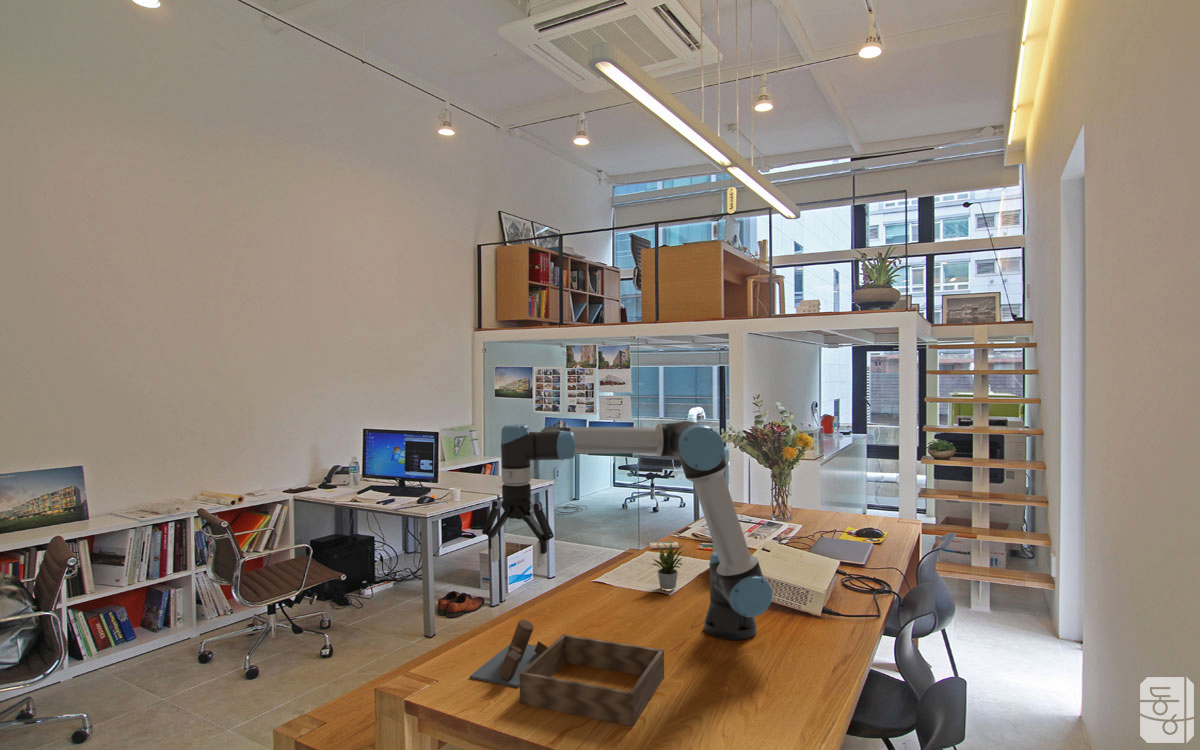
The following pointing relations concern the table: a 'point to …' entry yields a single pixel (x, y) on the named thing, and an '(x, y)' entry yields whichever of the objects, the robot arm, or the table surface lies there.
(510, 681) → the mat
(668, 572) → the house plant
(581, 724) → the table surface
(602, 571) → the table surface
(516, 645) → the wooden block set
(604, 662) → the crate
